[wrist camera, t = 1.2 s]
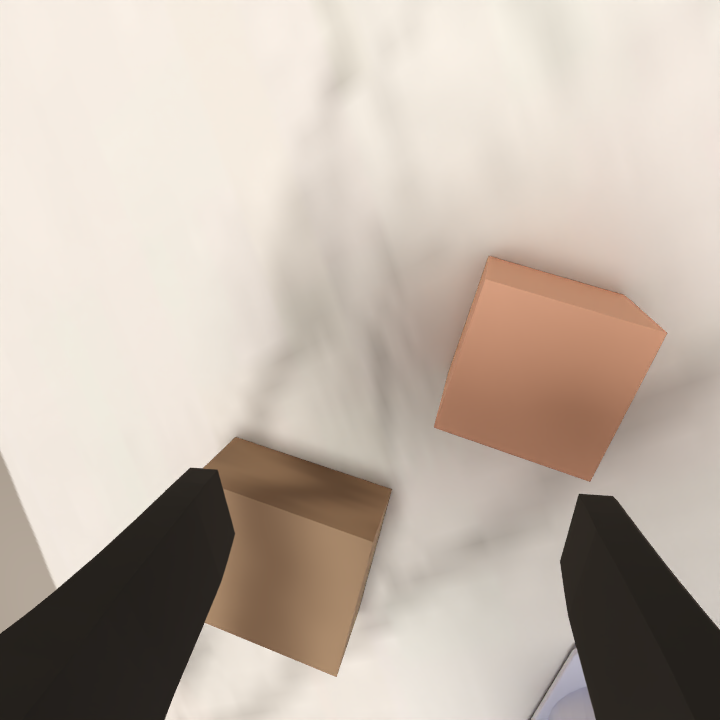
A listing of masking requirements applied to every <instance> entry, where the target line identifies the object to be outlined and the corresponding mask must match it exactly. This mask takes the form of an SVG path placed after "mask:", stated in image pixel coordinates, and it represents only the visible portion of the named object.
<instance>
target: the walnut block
mask: <svg viewBox="0 0 720 720" xmlns="http://www.w3.org/2000/svg"><path fill="white" fill-rule="evenodd" d="M203 469H216V470H218V472H219V476H220V480H221V483H222V487H223V491H224V494H225V498H226V502H227V505H228V509H229V513H230V516H231V520H232V524H233V527H234V531H235V536H234V540H233V544H232V547H231V551H230V555H229V558H228V562H227V565H226V568H225V572H224V575H223V578H222V581H221V584H220V586H219V589H218V591H217V594H216V596H215V599H214V601H213V603H212V606H211V608H210V611H209V613H208V616H207V618H206V620H205V623H207V624H209V625H212V626H214V627H217V628H219V629H221V630H224V631H226V632H229V633H231V634H234V635H236V636H238V637H241V638H243V639H246V640H248V641H251V642H253V643H255V644H258V645H260V646H263V647H265V648H267V649H270V650H272V651H275V652H277V653H280V654H282V655H284V656H287V657H289V658H292V659H294V660H297V661H299V662H301V663H304V664H306V665H309V666H311V667H314V668H316V669H318V670H321V671H323V672H326V673H328V674H331V675H333V676H335V677H337V674H338V671H339V668H340V665H341V662H342V659H343V656H344V653H345V650H346V647H347V644H348V641H349V638H350V635H351V632H352V629H353V626H354V623H355V620H356V617H357V614H358V611H359V607H360V604H361V600H362V596H363V593H364V589H365V585H366V582H367V578H368V574H369V571H370V567H371V564H372V560H373V556H374V553H375V549H376V545H377V542H378V538H379V534H380V531H381V527H382V524H383V520H384V516H385V513H386V509H387V505H388V502H389V498H390V494H391V491H392V489H389V488H386V487H383V486H380V485H377V484H374V483H371V482H369V481H366V480H363V479H360V478H357V477H354V476H351V475H348V474H345V473H342V472H339V471H336V470H333V469H330V468H327V467H324V466H321V465H318V464H315V463H312V462H309V461H306V460H303V459H300V458H297V457H294V456H291V455H288V454H285V453H282V452H279V451H276V450H273V449H270V448H267V447H264V446H261V445H258V444H255V443H252V442H249V441H246V440H243V439H240V438H237V437H235V438H234V439H233V440H232V441H231V442H230V443H229V444H228V445H227V446H226V447H225V448H224V449H223V450H222V451H221V452H219V453H218V454H217V455H216V456H215V457H214V458H213V459H212V460H211V461H210V462H209V463H208V464H207V465H206V466H205V467H204V468H203Z"/></svg>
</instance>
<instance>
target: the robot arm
mask: <svg viewBox="0 0 720 720" xmlns="http://www.w3.org/2000/svg"><path fill="white" fill-rule="evenodd" d="M234 536H235V531H234V527H233V524H232V520H231V516H230V513H229V509H228V505H227V502H226V498H225V494H224V491H223V487H222V483H221V480H220V476H219V472H218V470H216V469H202V468H190V469H188V470H187V471H186V472H185V473H184V474H183V475H182V476H181V477H180V478H179V479H178V480H177V481H175V482H174V483H173V484H172V485H171V486H170V487H169V488H168V489H167V490H166V491H165V492H164V493H163V494H162V495H161V496H160V497H159V498H158V499H157V500H156V501H154V502H153V503H152V504H151V505H150V506H149V507H148V508H147V509H146V510H145V511H144V512H143V513H142V514H141V515H140V516H139V517H138V518H137V519H136V520H134V521H133V522H132V523H131V524H130V525H129V526H128V527H127V528H126V529H125V530H124V531H123V532H121V533H120V534H119V535H118V536H117V537H116V538H115V539H114V540H113V541H112V542H111V543H109V544H108V545H107V546H106V547H105V548H104V549H103V550H102V551H101V552H100V553H99V554H97V555H96V556H95V557H94V558H93V559H92V560H91V561H89V562H88V563H87V564H86V565H85V566H84V567H82V568H81V569H80V570H79V571H78V572H77V573H75V574H74V575H73V576H72V577H71V578H70V579H68V580H67V581H66V582H65V583H64V584H63V585H61V586H60V587H59V588H58V589H57V590H56V591H54V592H53V593H52V594H51V595H50V596H48V597H47V598H46V599H45V600H43V601H42V602H41V603H40V604H38V605H37V606H36V607H35V608H34V609H32V610H31V611H30V612H28V613H27V614H26V615H25V616H23V617H22V618H21V619H19V620H18V621H17V622H15V623H14V624H13V625H11V626H10V627H9V628H7V629H6V630H5V631H3V632H2V633H1V634H0V720H165V717H166V714H167V712H168V709H169V707H170V704H171V701H172V699H173V696H174V694H175V691H176V689H177V686H178V684H179V682H180V679H181V677H182V675H183V672H184V670H185V668H186V665H187V663H188V660H189V658H190V656H191V653H192V651H193V649H194V646H195V644H196V642H197V639H198V637H199V634H200V632H201V630H202V627H203V625H204V623H205V620H206V618H207V616H208V613H209V611H210V608H211V606H212V603H213V601H214V599H215V596H216V594H217V591H218V589H219V586H220V584H221V581H222V578H223V575H224V572H225V568H226V565H227V562H228V558H229V555H230V551H231V547H232V544H233V540H234ZM560 564H561V571H562V578H563V585H564V592H565V598H566V605H567V611H568V617H569V621H570V625H571V628H572V632H573V636H574V640H575V644H576V648H575V649H574V650H573V651H572V652H571V654H570V655H569V657H568V659H567V660H566V662H565V664H564V665H563V667H562V669H561V670H560V672H559V674H558V675H557V677H556V678H555V680H554V682H553V683H552V685H551V687H550V688H549V690H548V692H547V693H546V695H545V697H544V698H543V700H542V702H541V703H540V705H539V707H538V708H537V710H536V712H535V713H534V715H533V717H532V718H531V720H720V629H719V628H718V627H717V626H716V625H715V624H714V622H713V621H712V620H711V619H710V618H709V616H708V615H707V614H706V613H705V612H704V610H703V609H702V608H701V607H700V606H699V604H698V603H697V602H696V601H695V600H694V598H693V597H692V596H691V595H690V594H689V592H688V591H687V590H686V589H685V587H684V586H683V585H682V584H681V583H680V581H679V580H678V579H677V578H676V576H675V575H674V574H673V573H672V571H671V570H670V569H669V568H668V566H667V565H666V564H665V563H664V561H663V560H662V559H661V557H660V556H659V555H658V554H657V552H656V551H655V550H654V548H653V547H652V546H651V545H650V543H649V542H648V541H647V539H646V538H645V537H644V535H643V534H642V533H641V531H640V530H639V529H638V528H637V526H636V525H635V524H634V522H633V521H632V520H631V518H630V517H629V516H628V514H627V513H626V512H625V510H624V509H623V508H622V506H621V505H620V504H619V502H618V501H617V500H616V499H615V498H614V497H613V496H603V495H588V494H579V496H578V499H577V503H576V506H575V510H574V514H573V517H572V521H571V524H570V528H569V531H568V535H567V539H566V542H565V546H564V549H563V553H562V556H561V560H560Z"/></svg>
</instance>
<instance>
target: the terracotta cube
mask: <svg viewBox="0 0 720 720" xmlns="http://www.w3.org/2000/svg"><path fill="white" fill-rule="evenodd" d="M666 334H667V332H666V331H664V330H663V329H662V328H661V327H660V326H659V325H658V324H657V323H655V322H654V321H653V320H652V319H651V318H650V317H649V316H648V315H646V314H645V313H644V312H643V311H642V310H641V309H640V308H639V307H637V306H636V305H635V304H634V303H633V302H632V301H631V300H630V299H628V298H627V297H626V296H625V295H622V294H619V293H615V292H612V291H608V290H605V289H601V288H598V287H594V286H591V285H588V284H584V283H581V282H577V281H574V280H570V279H567V278H563V277H560V276H556V275H553V274H549V273H546V272H543V271H539V270H536V269H532V268H529V267H525V266H522V265H518V264H515V263H511V262H508V261H505V260H501V259H498V258H494V257H491V256H489V257H488V259H487V262H486V265H485V268H484V271H483V274H482V277H481V280H480V283H479V285H478V288H477V291H476V294H475V297H474V300H473V303H472V306H471V309H470V311H469V314H468V317H467V320H466V323H465V326H464V329H463V332H462V335H461V338H460V340H459V343H458V346H457V349H456V352H455V355H454V358H453V361H452V364H451V366H450V369H449V372H448V376H447V379H446V383H445V387H444V391H443V394H442V398H441V402H440V406H439V410H438V413H437V417H436V421H435V425H434V428H437V429H440V430H443V431H445V432H448V433H451V434H454V435H457V436H460V437H463V438H466V439H468V440H471V441H474V442H477V443H480V444H483V445H486V446H489V447H492V448H494V449H497V450H500V451H503V452H506V453H509V454H512V455H515V456H517V457H520V458H523V459H526V460H529V461H532V462H535V463H538V464H540V465H543V466H546V467H549V468H552V469H555V470H558V471H561V472H564V473H566V474H569V475H572V476H575V477H578V478H581V479H584V480H587V481H589V482H590V481H591V479H592V477H593V475H594V473H595V471H596V469H597V468H598V466H599V464H600V462H601V460H602V458H603V456H604V454H605V452H606V450H607V448H608V446H609V444H610V442H611V441H612V439H613V437H614V435H615V433H616V431H617V429H618V427H619V425H620V423H621V421H622V419H623V417H624V415H625V414H626V412H627V410H628V408H629V406H630V404H631V402H632V400H633V398H634V396H635V394H636V392H637V390H638V388H639V387H640V385H641V383H642V381H643V379H644V377H645V375H646V373H647V371H648V369H649V367H650V365H651V363H652V361H653V360H654V358H655V356H656V354H657V352H658V350H659V348H660V346H661V344H662V342H663V340H664V338H665V336H666Z"/></svg>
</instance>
